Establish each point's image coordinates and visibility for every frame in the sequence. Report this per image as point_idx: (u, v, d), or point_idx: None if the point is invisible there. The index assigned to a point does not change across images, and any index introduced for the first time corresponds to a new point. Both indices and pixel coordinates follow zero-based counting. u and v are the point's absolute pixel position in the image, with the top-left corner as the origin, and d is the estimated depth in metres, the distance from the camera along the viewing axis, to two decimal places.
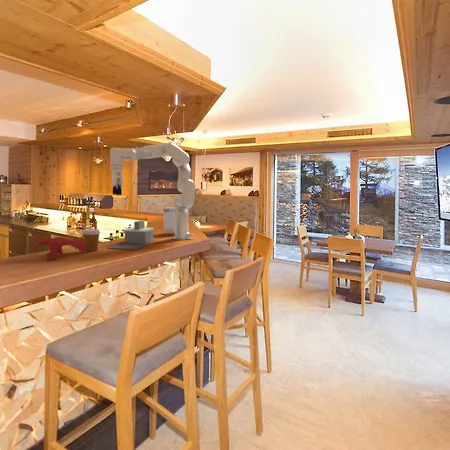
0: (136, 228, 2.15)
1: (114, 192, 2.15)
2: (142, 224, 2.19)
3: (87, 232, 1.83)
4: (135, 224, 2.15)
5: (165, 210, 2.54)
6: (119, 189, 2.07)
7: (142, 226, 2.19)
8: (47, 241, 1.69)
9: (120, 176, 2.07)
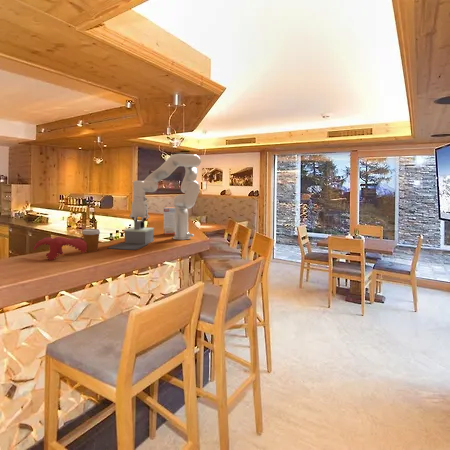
0: (136, 228, 2.15)
1: None
2: None
3: (87, 232, 1.83)
4: (135, 224, 2.15)
5: (165, 210, 2.54)
6: (143, 222, 2.18)
7: None
8: (47, 241, 1.69)
9: (147, 208, 2.17)
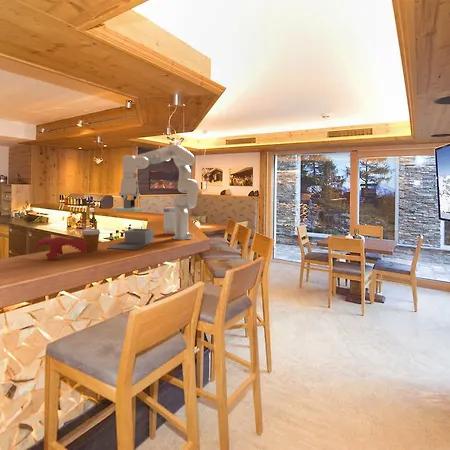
0: (125, 207, 1.99)
1: None
2: None
3: (87, 232, 1.83)
4: (124, 202, 1.99)
5: (165, 210, 2.54)
6: (134, 200, 2.02)
7: None
8: (47, 241, 1.69)
9: (137, 185, 2.02)
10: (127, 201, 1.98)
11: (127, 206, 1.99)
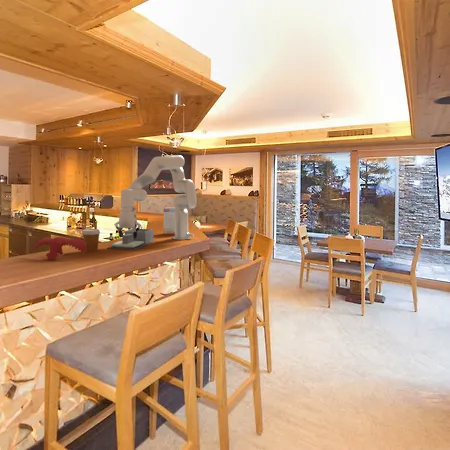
0: (124, 242, 1.99)
1: (121, 235, 2.02)
2: (131, 238, 2.03)
3: (87, 232, 1.83)
4: (123, 238, 1.99)
5: (165, 210, 2.54)
6: (136, 232, 2.01)
7: (131, 240, 2.03)
8: (47, 241, 1.69)
9: (136, 218, 2.01)
10: (126, 237, 1.98)
11: (126, 242, 1.99)
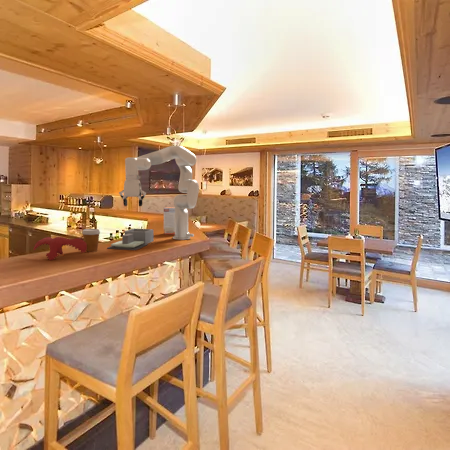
0: (124, 242, 1.99)
1: (125, 203, 2.05)
2: (131, 238, 2.03)
3: (87, 232, 1.83)
4: (123, 238, 1.99)
5: (165, 210, 2.54)
6: (141, 200, 2.04)
7: (131, 240, 2.03)
8: (47, 241, 1.69)
9: (140, 187, 2.04)
10: (126, 237, 1.98)
11: (126, 242, 1.99)
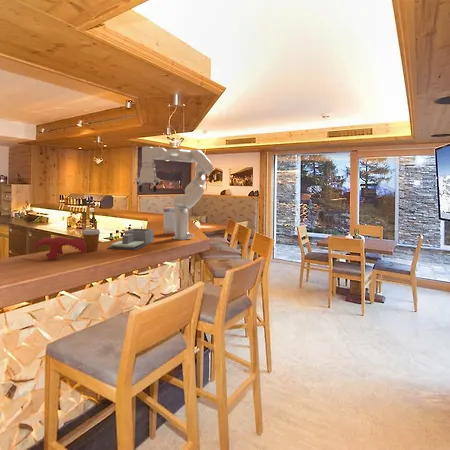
0: (124, 242, 1.99)
1: (141, 189, 2.20)
2: (131, 238, 2.03)
3: (87, 232, 1.83)
4: (123, 238, 1.99)
5: (165, 210, 2.54)
6: (156, 186, 2.19)
7: (131, 240, 2.03)
8: (47, 241, 1.69)
9: (155, 174, 2.19)
10: (126, 237, 1.98)
11: (126, 242, 1.99)
